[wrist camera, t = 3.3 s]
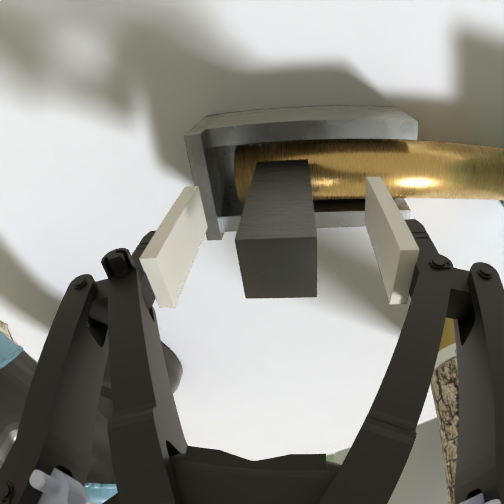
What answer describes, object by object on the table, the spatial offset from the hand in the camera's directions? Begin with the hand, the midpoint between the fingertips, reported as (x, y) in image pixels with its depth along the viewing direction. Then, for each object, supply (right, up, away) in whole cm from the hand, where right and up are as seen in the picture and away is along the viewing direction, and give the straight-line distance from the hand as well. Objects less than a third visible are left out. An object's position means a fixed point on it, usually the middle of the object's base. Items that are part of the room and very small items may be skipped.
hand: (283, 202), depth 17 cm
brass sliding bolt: (+8, +4, +4) cm, 10 cm away
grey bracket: (+2, +5, +6) cm, 8 cm away
